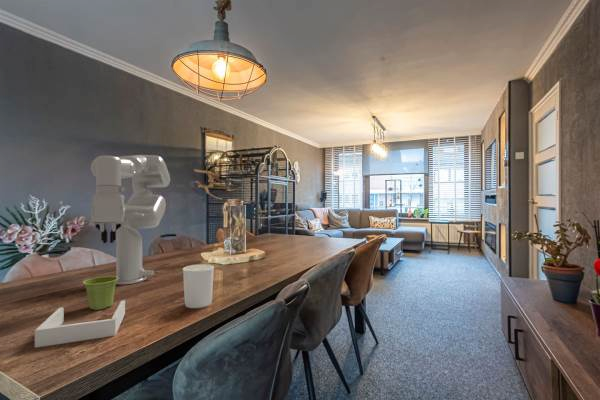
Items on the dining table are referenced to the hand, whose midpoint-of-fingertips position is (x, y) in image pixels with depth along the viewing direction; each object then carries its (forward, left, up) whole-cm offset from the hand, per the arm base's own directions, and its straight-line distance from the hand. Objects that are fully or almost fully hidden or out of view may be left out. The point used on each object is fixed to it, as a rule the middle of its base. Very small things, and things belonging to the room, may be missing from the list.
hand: (108, 242), depth 105 cm
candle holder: (-29, +21, -19) cm, 40 cm away
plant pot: (0, +12, -19) cm, 22 cm away
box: (0, +29, -19) cm, 34 cm away
